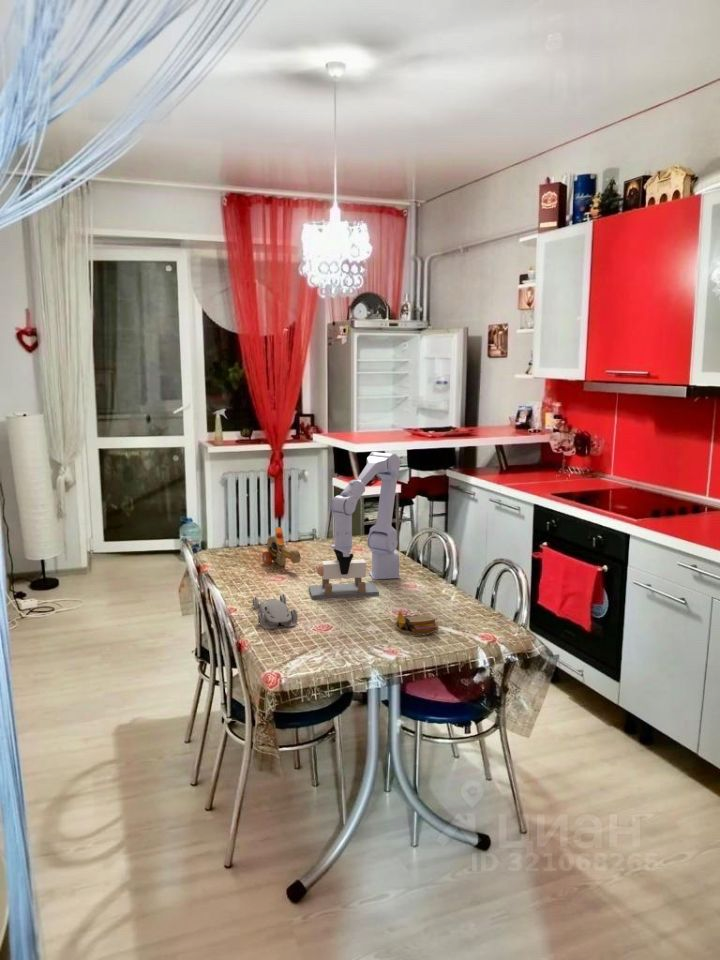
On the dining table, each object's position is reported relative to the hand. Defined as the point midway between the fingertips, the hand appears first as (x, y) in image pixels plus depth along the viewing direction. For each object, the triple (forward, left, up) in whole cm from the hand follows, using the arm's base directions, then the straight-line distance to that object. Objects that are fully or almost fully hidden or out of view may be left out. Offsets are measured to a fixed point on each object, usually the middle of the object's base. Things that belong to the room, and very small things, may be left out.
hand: (343, 572), depth 238 cm
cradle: (0, 0, -7) cm, 7 cm away
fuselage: (0, 0, -2) cm, 2 cm away
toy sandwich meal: (-17, +35, -7) cm, 39 cm away
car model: (+23, +18, -8) cm, 31 cm away
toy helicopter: (+18, -33, -7) cm, 38 cm away
